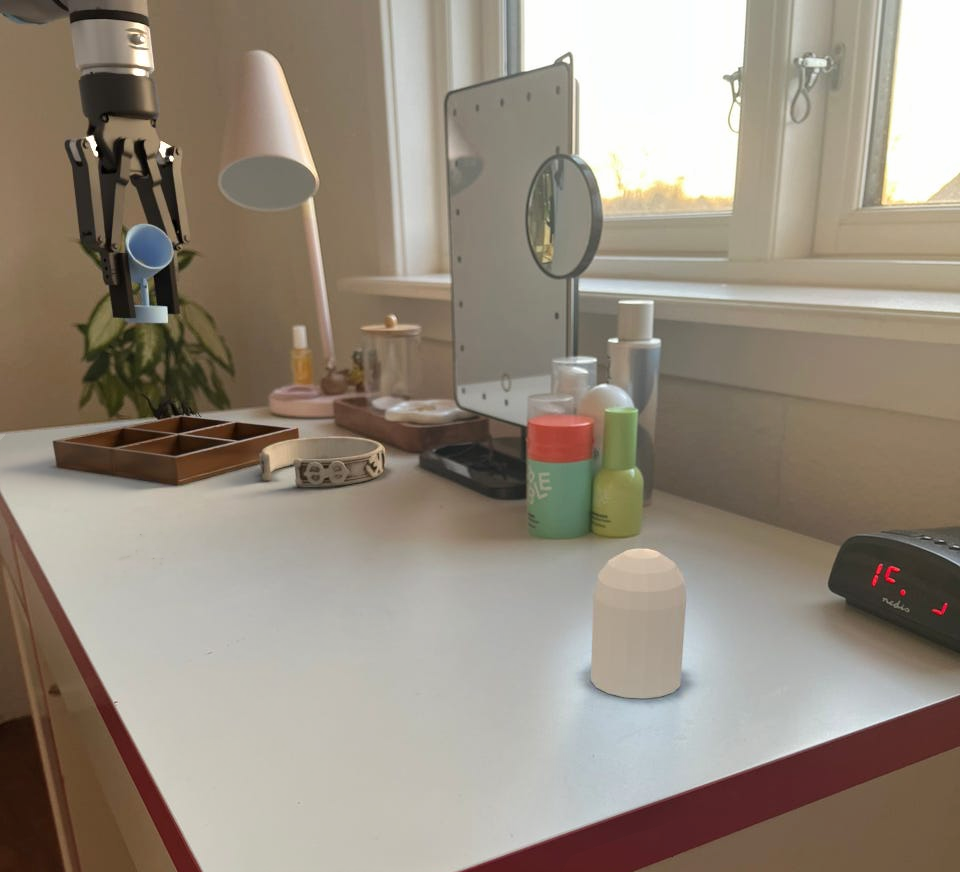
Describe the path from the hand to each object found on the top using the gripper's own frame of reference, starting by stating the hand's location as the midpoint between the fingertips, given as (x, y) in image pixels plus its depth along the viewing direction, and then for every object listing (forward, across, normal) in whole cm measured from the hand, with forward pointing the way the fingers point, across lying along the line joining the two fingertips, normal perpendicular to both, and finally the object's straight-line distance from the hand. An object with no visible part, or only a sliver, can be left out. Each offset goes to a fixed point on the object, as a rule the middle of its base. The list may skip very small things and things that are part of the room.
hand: (147, 315), depth 112 cm
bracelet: (+17, +6, -19) cm, 26 cm away
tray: (+17, +4, +1) cm, 17 cm away
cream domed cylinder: (+17, -30, -71) cm, 78 cm away
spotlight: (+1, 0, 0) cm, 1 cm away
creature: (+17, +20, +18) cm, 32 cm away
